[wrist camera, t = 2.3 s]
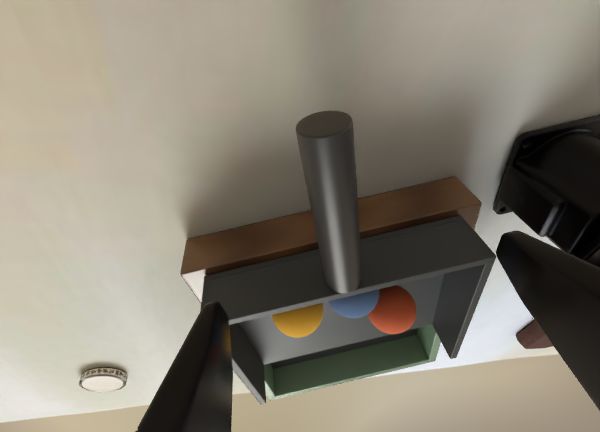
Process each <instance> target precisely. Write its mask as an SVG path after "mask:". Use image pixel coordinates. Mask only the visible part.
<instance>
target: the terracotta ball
mask: <svg viewBox="0 0 600 432" xmlns="http://www.w3.org/2000/svg"><path fill="white" fill-rule="evenodd" d="M416 311H417V310H416V304H415V301H414V299H413V297H412V296H411V295H410V293H409V292H408V291H406V290H405V289H404V288H402V287H400V286H397V285H395V286H391V287H386V288H382V289H379V299H378V302H377V304H376V306H375V308H374V309H373V310H372V311H371V312H370V313H369V314H368V317H369V319H370V321H371V322H372V324H373V325H374V326H375V327H376V328H377V329H379V330H380V331H382V332H385V333H388V334H399V333H403V332H405V331H406V330H408V329H409V328H410V327H411V326H412V325H413V323H414V321H415V318H416Z"/></svg>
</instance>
